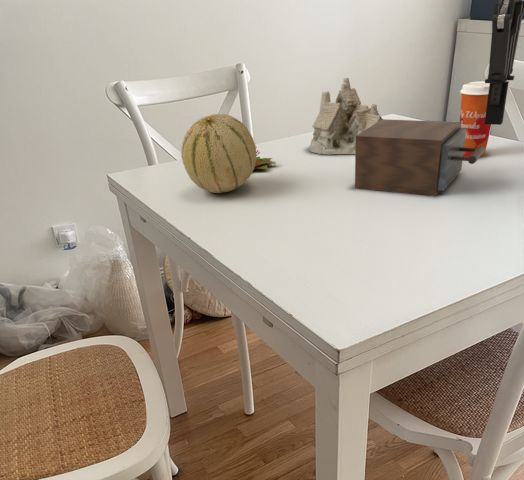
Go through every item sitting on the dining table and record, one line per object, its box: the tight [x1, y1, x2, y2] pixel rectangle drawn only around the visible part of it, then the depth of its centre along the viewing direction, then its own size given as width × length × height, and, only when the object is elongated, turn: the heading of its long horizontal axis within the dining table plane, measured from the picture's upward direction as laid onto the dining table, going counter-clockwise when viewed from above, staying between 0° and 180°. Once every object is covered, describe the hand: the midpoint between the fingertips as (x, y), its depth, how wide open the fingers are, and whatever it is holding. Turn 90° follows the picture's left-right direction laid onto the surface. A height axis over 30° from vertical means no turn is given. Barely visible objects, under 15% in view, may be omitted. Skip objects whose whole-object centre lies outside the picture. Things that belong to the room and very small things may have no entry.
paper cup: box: [459, 80, 492, 158], centre depth 114 cm, size 8×8×14 cm
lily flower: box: [254, 144, 277, 170], centre depth 122 cm, size 12×12×5 cm
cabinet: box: [354, 118, 461, 197], centre depth 104 cm, size 16×14×10 cm
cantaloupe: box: [180, 113, 257, 194], centre depth 106 cm, size 15×15×15 cm
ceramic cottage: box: [309, 77, 383, 155], centre depth 126 cm, size 16×16×15 cm
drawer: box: [437, 128, 486, 191], centre depth 102 cm, size 19×13×8 cm, turn 60°
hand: (493, 123), depth 93 cm, fingers closed
